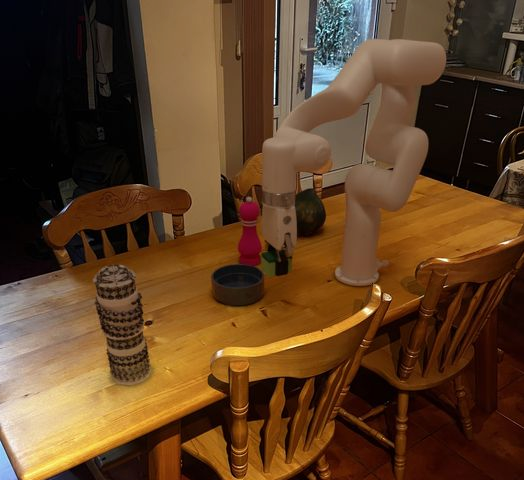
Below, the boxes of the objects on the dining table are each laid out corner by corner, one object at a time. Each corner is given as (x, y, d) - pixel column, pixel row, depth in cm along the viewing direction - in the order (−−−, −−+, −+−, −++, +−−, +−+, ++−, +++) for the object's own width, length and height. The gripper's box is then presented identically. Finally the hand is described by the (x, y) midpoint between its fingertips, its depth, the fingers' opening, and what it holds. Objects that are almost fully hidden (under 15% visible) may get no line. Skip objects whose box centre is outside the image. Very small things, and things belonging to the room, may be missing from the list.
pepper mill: (259, 267, 159) (259, 202, 147) (235, 265, 160) (233, 200, 148) (263, 257, 164) (264, 193, 153) (241, 255, 166) (239, 191, 154)
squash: (272, 222, 173) (304, 189, 166) (276, 208, 186) (306, 176, 179) (303, 251, 177) (336, 220, 170) (305, 235, 190) (336, 205, 183)
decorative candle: (138, 355, 122) (121, 255, 108) (161, 373, 116) (146, 270, 102) (102, 372, 117) (79, 269, 102) (124, 392, 111) (104, 286, 97)
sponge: (283, 265, 133) (284, 248, 130) (291, 272, 129) (292, 255, 127) (261, 269, 131) (261, 252, 128) (268, 277, 127) (269, 259, 125)
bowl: (251, 277, 153) (251, 260, 150) (272, 300, 143) (273, 281, 140) (204, 287, 149) (203, 269, 145) (223, 311, 138) (222, 292, 135)
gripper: (311, 206, 115) (306, 282, 125) (277, 183, 127) (275, 254, 138) (280, 211, 112) (278, 288, 122) (248, 188, 125) (248, 259, 135)
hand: (276, 269), depth 130 cm, fingers closed on sponge, 4 cm apart
